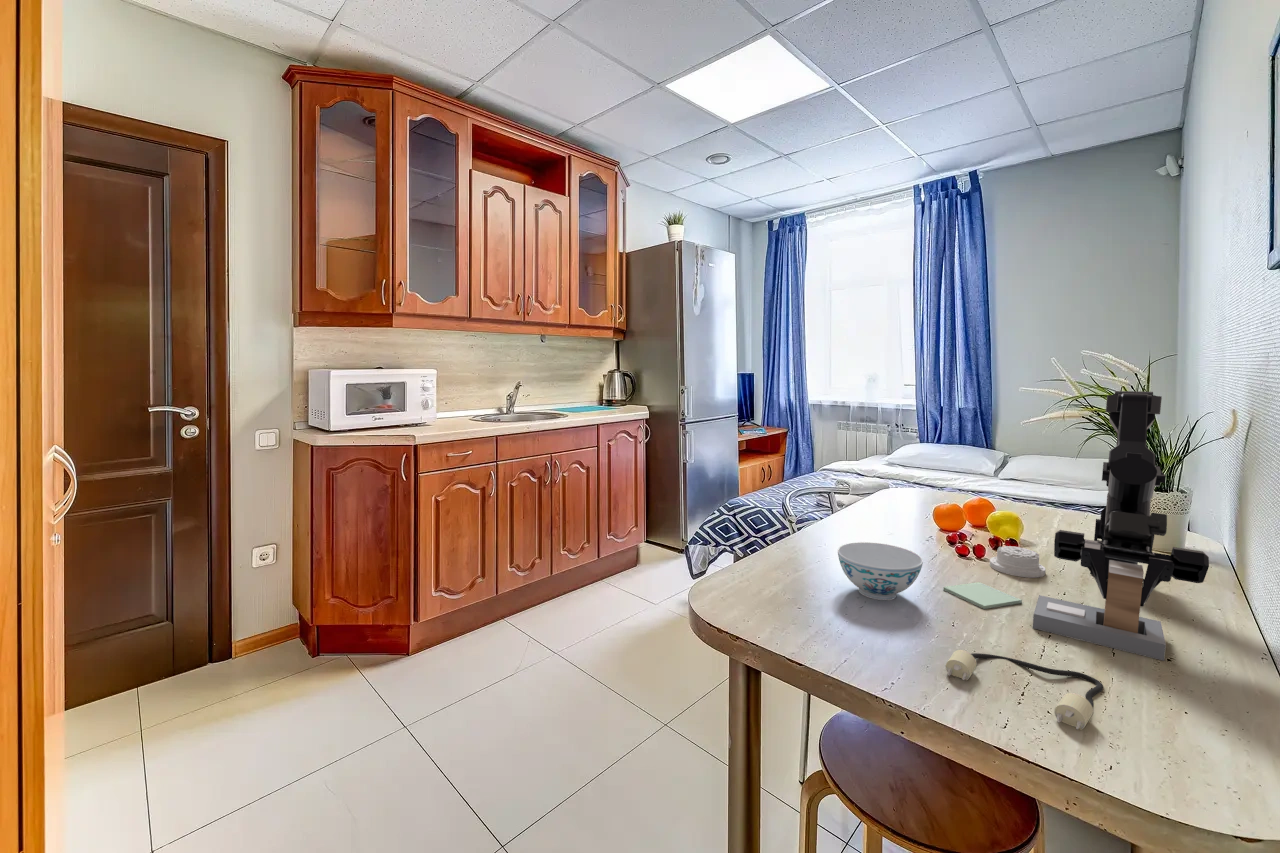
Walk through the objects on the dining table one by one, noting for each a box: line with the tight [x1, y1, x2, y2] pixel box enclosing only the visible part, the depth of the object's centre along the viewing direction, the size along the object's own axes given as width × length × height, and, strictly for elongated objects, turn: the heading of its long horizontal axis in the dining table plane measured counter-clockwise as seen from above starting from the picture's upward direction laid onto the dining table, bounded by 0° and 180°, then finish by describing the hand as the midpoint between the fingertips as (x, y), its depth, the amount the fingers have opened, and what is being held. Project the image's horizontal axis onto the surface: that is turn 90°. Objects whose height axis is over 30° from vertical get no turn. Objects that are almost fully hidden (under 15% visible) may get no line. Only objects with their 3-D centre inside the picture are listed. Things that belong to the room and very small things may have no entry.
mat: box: [942, 581, 1023, 610], centre depth 104 cm, size 9×9×1 cm
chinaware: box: [837, 541, 924, 601], centre depth 106 cm, size 15×15×8 cm
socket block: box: [1032, 594, 1167, 662], centre depth 90 cm, size 10×16×3 cm, turn 50°
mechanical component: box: [989, 545, 1046, 579], centre depth 118 cm, size 10×4×10 cm
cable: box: [945, 649, 1104, 731], centre depth 76 cm, size 16×16×4 cm
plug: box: [1103, 560, 1144, 633], centre depth 88 cm, size 4×4×12 cm
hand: (1122, 601), depth 87 cm, fingers closed on plug, 4 cm apart
